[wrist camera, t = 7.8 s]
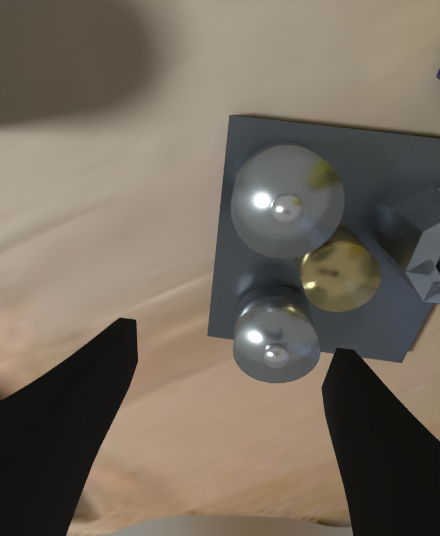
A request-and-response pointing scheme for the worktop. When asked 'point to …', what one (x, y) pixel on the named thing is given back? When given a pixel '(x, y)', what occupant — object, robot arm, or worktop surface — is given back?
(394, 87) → the worktop surface
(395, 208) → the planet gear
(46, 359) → the worktop surface
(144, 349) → the worktop surface
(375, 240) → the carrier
